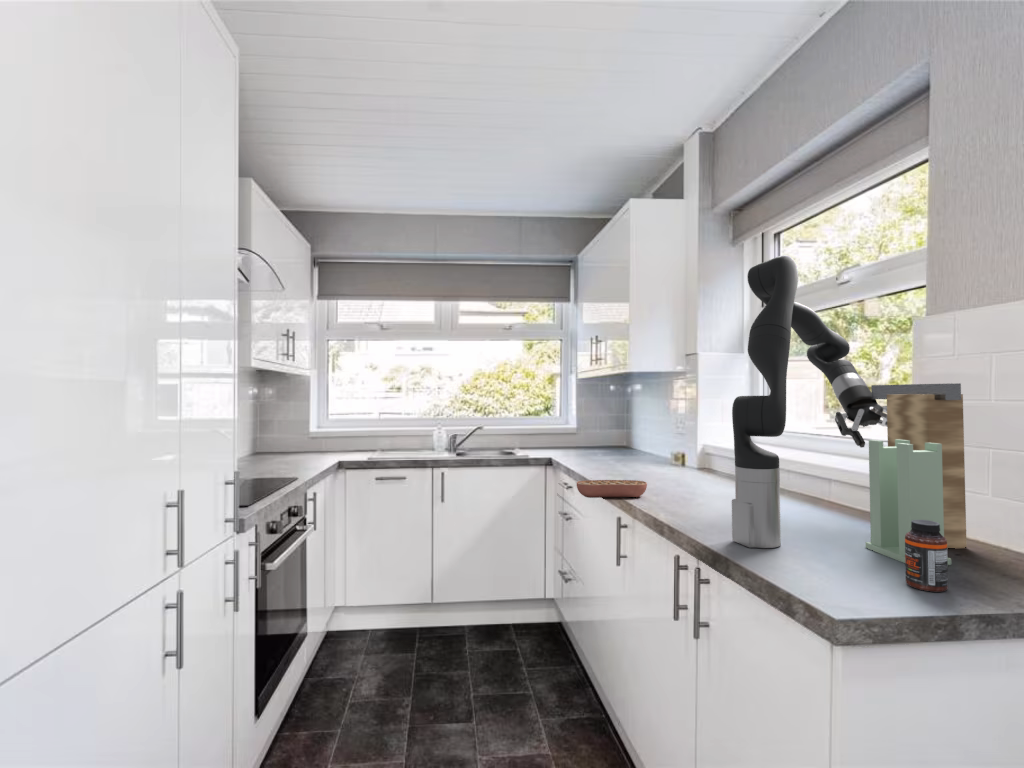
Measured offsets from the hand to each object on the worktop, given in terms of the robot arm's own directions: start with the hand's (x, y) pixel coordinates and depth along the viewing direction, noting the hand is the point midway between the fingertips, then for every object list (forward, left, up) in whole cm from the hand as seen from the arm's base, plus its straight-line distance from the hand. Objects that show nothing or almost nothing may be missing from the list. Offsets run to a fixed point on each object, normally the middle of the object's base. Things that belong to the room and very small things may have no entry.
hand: (882, 442), depth 136 cm
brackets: (-14, -18, -21) cm, 31 cm away
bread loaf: (-45, +60, -22) cm, 78 cm away
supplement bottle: (-28, -33, -22) cm, 48 cm away
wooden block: (0, -10, -21) cm, 24 cm away
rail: (+1, -7, +11) cm, 13 cm away
